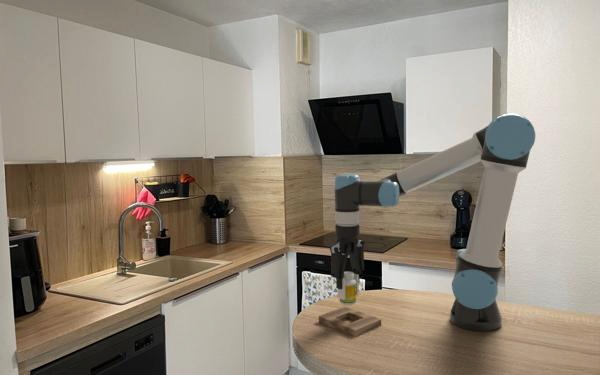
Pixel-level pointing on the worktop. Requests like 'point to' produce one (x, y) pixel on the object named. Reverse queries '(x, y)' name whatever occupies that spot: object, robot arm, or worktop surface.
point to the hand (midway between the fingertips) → (348, 295)
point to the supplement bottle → (349, 289)
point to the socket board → (354, 328)
